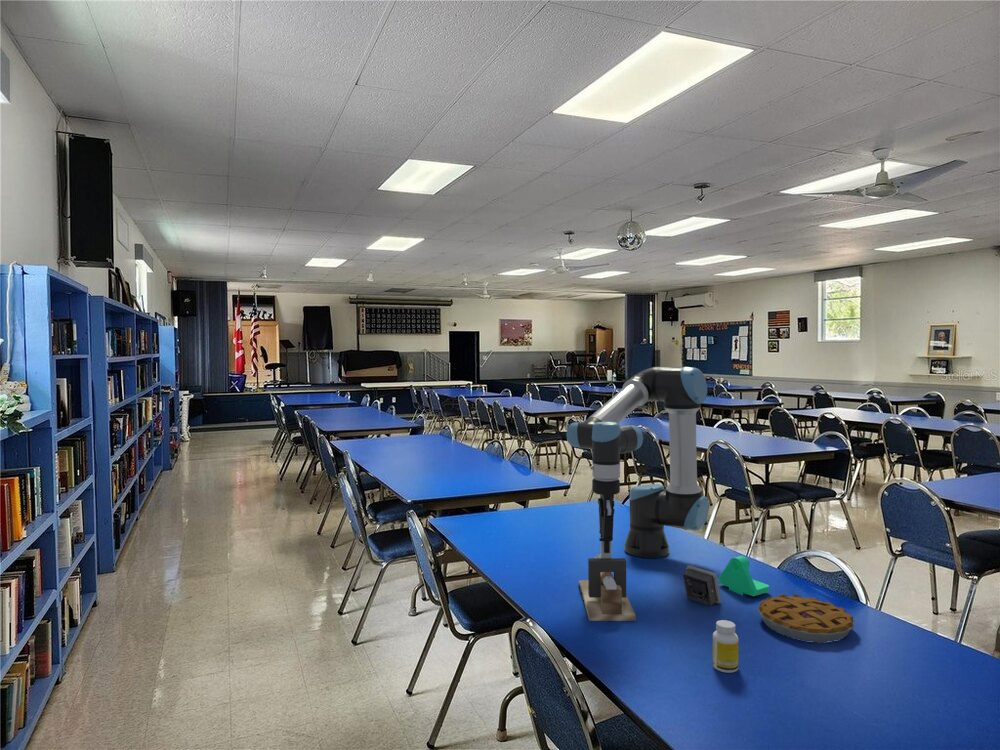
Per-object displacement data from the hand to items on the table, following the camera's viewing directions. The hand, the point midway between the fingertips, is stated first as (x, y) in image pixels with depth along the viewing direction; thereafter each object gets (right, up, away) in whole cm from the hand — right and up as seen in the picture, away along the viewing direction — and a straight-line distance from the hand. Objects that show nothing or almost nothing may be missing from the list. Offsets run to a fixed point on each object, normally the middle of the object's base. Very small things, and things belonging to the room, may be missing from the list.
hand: (606, 563), depth 173 cm
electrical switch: (+27, -11, +2) cm, 29 cm away
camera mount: (+42, -11, +10) cm, 45 cm away
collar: (0, -9, -2) cm, 9 cm away
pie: (+48, -12, -15) cm, 51 cm away
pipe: (0, -5, +2) cm, 5 cm away
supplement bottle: (+20, -13, -35) cm, 43 cm away
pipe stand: (0, -11, +2) cm, 11 cm away
